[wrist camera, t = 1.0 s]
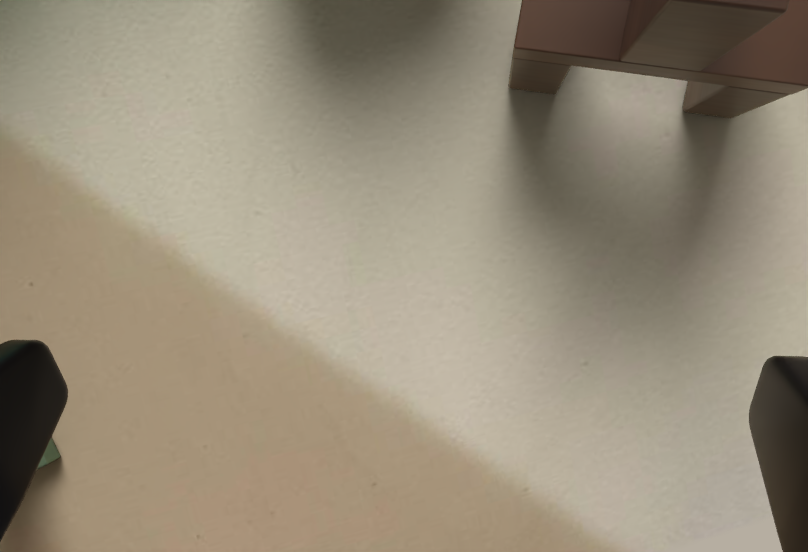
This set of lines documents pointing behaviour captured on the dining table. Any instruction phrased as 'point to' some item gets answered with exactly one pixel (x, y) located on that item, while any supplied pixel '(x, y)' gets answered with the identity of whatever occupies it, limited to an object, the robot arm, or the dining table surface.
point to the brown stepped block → (670, 47)
